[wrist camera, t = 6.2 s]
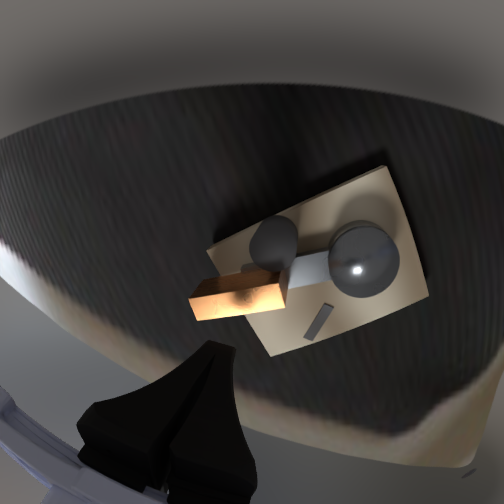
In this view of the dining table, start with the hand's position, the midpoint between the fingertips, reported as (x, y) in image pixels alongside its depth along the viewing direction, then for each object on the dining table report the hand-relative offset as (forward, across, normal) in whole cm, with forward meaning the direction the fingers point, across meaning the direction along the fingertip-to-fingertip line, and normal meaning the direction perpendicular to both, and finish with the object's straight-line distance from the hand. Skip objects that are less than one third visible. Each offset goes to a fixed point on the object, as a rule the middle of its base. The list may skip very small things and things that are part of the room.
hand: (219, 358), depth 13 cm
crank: (+6, -3, -3) cm, 7 cm away
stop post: (+7, -1, -4) cm, 9 cm away
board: (+7, -4, -3) cm, 9 cm away
